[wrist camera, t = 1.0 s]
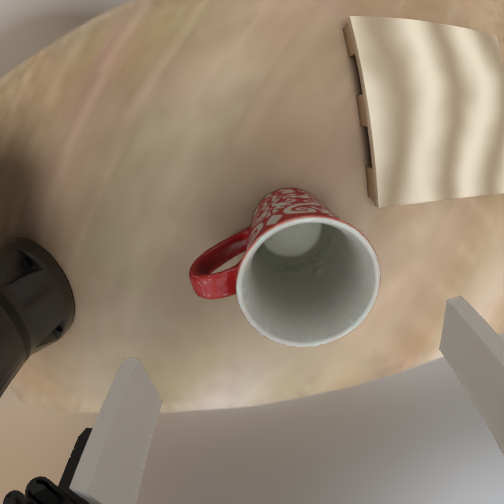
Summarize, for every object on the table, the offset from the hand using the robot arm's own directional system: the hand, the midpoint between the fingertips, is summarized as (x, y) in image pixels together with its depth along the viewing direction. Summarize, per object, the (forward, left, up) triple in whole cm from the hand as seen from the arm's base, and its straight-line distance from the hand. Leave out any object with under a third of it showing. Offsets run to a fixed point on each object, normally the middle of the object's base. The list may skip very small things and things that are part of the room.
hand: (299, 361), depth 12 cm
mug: (0, -1, -21) cm, 21 cm away
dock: (+19, +9, -20) cm, 29 cm away
